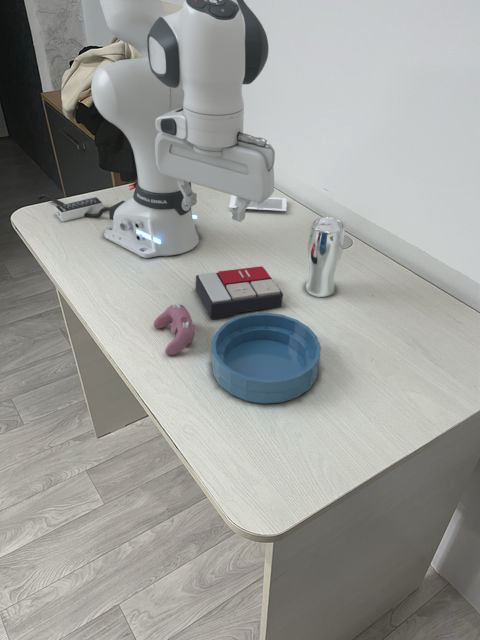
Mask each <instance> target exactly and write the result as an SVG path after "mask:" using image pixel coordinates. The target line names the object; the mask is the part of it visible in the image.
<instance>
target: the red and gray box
mask: <svg viewBox="0 0 480 640" xmlns="http://www.w3.org/2000/svg"><path fill="white" fill-rule="evenodd" d="M195 291H196V294H197V296H198V298H199V299H200V301H201V304H202V305H203V307H204V309H205V311H206V313H207V315H208V317H209V319H211V320H217V319H222V318H223V319H225V318H229V317H231V316H232V315H234V314H240V313H246V312H247V313H248V312H254V311H260V310H266V309H267V310H268V309H274V308H279V307H282V305H283V297H284V293H283V292H282V290H281V289H280V287H279V286H278V285H277V284H276V282H275V281H274V279H273V278H272V277H271V275H270V274H269V273H268V271H267V270H266V268H265V267H264V266H260V265H259V266H253V267H244V268H234V269H227V270H220V271H218V272H208V273H200V274H197V275H195Z"/></svg>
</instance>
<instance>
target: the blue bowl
mask: <svg viewBox="0 0 480 640" xmlns="http://www.w3.org/2000/svg"><path fill="white" fill-rule="evenodd" d="M321 350H322V346H321V344H320V340H319V337H318V336H317V334H315V332H314V331H313V330H312V329H311V328H310V327H309V326H308V325H306V324H305V323H304V322H301V321H299V320H298V319H295V318H293V317H290V316H288V315H285V314H279V313H273V312H252V313H247V314H244V315H239V316H236V317H234V318H232V319H230V320H228V321H226V322H225V323H223V324H222V325H221V326H220V327H219V328H218V329H217V330H216V331H215V333H214V335H213V337H212V340H211V366H212V375H213V377H214V378H215V380H216V382H217V383H218V385H219V386H220V387H221V388H222V389H224V390H225V392H228V393H229V394H230V395H232V396H234V397H236V398H238V399H241V400H244V401H247V402H251V403H258V404H276V403H277V404H279V403H285V402H287V401H291V400H294V399H297V398H298V397H300V396H302V395H303V394H304V393H306V392H307V391H309V390H310V389H311V387H312V386H313V384H314V383H315V382H316V380H317V378H318V371H319V365H320V357H321Z"/></svg>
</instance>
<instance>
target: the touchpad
mask: <svg viewBox="0 0 480 640" xmlns="http://www.w3.org/2000/svg"><path fill="white" fill-rule="evenodd" d="M287 202H288V201H287V197H273V196H272V197H271V196H270V197H269V198H268V199H266V200H265V201H263V202H261V203H257V202H254V201H251V202H250V204H249V205H248V207H247V208H246V209H245V210H261V211H277V212H279V211H280V212H287ZM240 205H241V203H239V202H238V197H237V196H234V195H231V194H230V199H229V205H228V208H229V209H236V207H237V206H239V207H240Z"/></svg>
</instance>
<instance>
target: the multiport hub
mask: <svg viewBox="0 0 480 640" xmlns="http://www.w3.org/2000/svg"><path fill="white" fill-rule="evenodd" d="M102 208H105V207H104V202H103V201H102V200H101V199H100V198H99V197H97V196H96V197H95V196H94V197H89V198H86V199H81V200H77V201H74V202H68V203H64V204H63V205H59V204H58V205H56V206H54V209H55V213H56V216H57V218H58V219H60V221H62V222H68V221H72V220H75V219H80V218H83V217H85V216H84V214H86V213H88V214H98V213H99V211H100V210H101V209H102Z"/></svg>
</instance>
